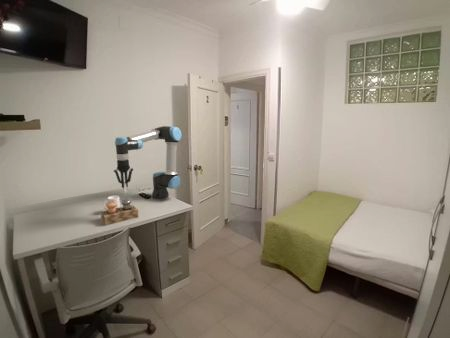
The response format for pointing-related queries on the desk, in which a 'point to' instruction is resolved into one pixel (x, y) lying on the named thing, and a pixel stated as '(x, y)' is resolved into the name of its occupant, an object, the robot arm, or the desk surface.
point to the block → (119, 215)
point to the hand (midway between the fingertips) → (125, 191)
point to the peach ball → (111, 207)
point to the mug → (113, 199)
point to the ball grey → (126, 204)
